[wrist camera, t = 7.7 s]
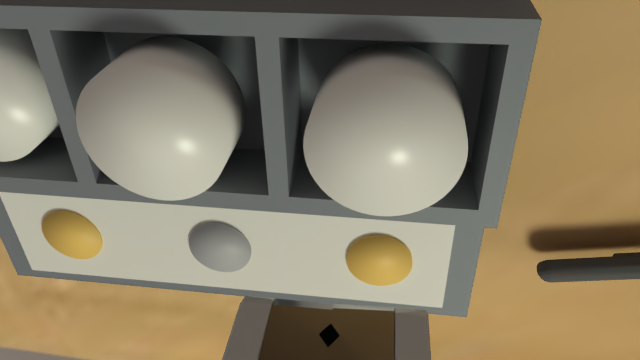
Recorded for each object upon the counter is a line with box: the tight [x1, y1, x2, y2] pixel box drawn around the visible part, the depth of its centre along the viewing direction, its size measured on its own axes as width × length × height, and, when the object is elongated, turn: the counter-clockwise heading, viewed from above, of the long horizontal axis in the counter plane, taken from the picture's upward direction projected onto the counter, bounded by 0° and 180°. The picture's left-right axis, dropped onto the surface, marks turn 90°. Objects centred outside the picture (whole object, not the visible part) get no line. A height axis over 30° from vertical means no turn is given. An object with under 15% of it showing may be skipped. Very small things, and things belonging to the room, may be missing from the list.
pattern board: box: [0, 0, 542, 317], centre depth 19 cm, size 19×14×6 cm
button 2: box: [303, 44, 468, 216], centre depth 14 cm, size 4×4×2 cm
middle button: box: [76, 36, 246, 201], centre depth 15 cm, size 4×4×2 cm
